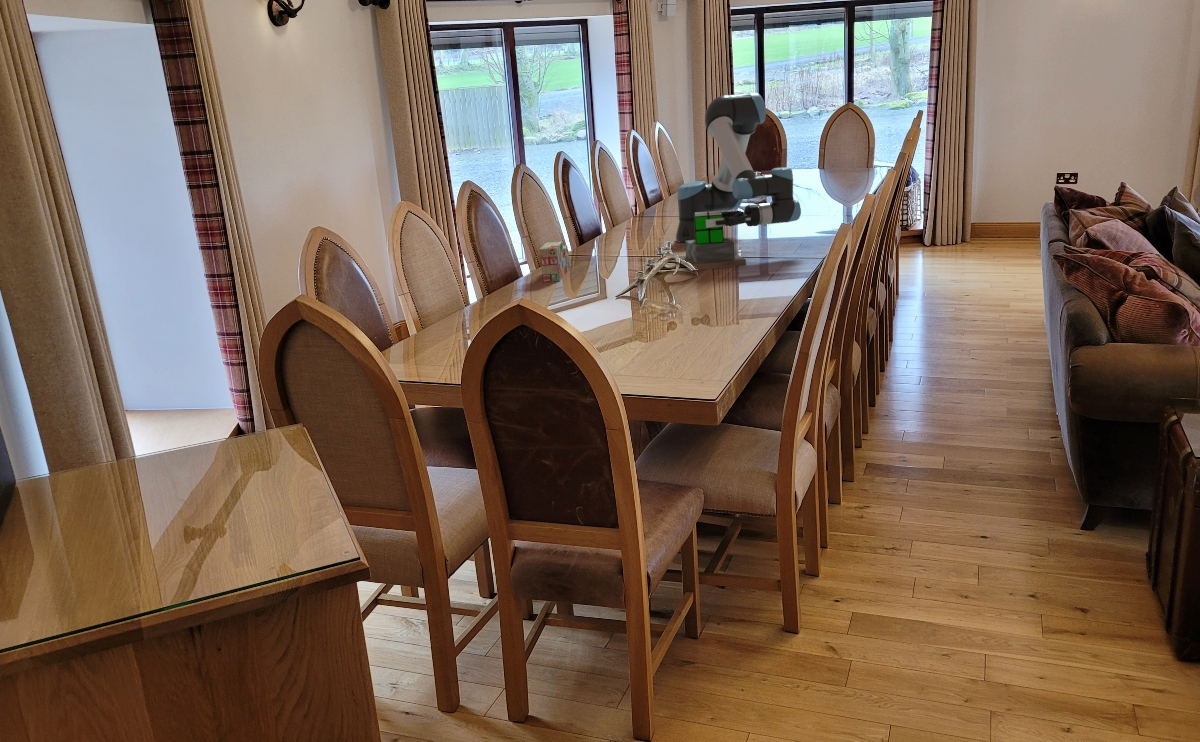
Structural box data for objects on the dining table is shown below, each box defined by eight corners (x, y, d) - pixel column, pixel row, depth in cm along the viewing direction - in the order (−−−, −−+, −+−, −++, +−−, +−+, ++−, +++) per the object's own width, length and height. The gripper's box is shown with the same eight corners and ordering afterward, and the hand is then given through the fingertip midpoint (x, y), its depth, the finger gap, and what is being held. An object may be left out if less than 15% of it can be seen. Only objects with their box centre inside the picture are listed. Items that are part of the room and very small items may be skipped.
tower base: (676, 261, 345) (675, 240, 343) (728, 255, 348) (727, 234, 346) (691, 271, 326) (690, 248, 324) (745, 264, 329) (745, 242, 327)
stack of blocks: (553, 270, 350) (550, 237, 346) (570, 269, 349) (567, 236, 345) (542, 282, 330) (539, 248, 326) (560, 281, 329) (556, 247, 325)
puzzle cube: (722, 238, 339) (721, 210, 336) (724, 242, 330) (722, 214, 327) (695, 239, 340) (693, 212, 337) (695, 244, 331) (694, 216, 328)
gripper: (770, 230, 325) (711, 236, 321) (746, 220, 348) (691, 227, 345) (769, 208, 322) (710, 214, 319) (745, 200, 346) (690, 206, 343)
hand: (700, 221), depth 332 cm, fingers open, 13 cm apart
